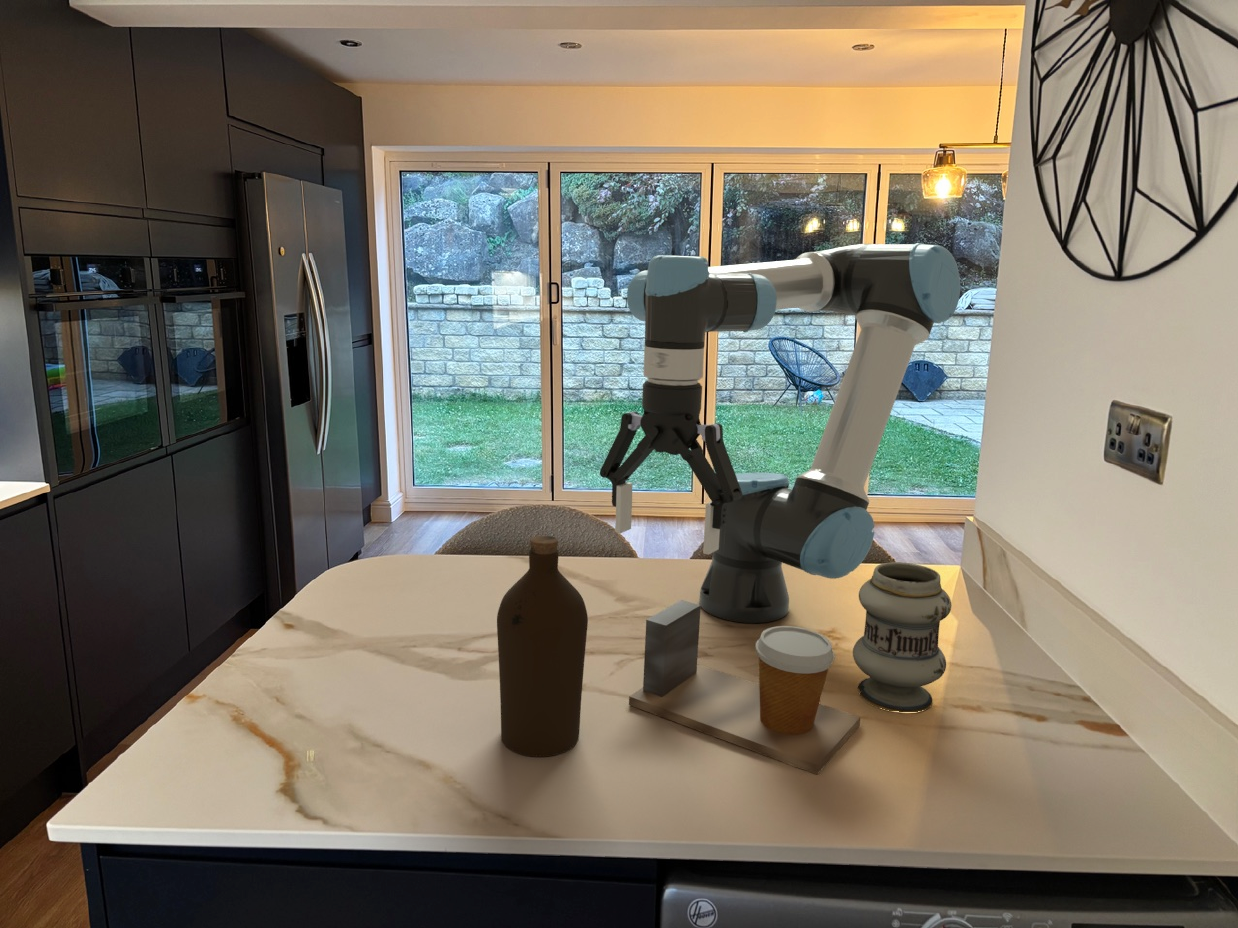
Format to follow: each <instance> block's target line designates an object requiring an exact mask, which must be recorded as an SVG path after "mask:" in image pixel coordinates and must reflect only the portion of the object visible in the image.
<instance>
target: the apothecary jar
mask: <svg viewBox="0 0 1238 928" xmlns="http://www.w3.org/2000/svg"><path fill="white" fill-rule="evenodd" d="M858 600H859V603H860V605H861V606H862V607H863V608H864V609H865V622H864V632H863V635H862V636H861V637H860V638H858V640H856V642H855V644H854V645H853V648H852V658H853V660H854V662H855V664H856V666H857V667H858V668H859V669H860V671H862V673H864V674H865V675H866V676H867V678H864V679H862V680H861V681H860V682H859V683H858V684H857V690H858V691H859V694H858V695H859V697H860V698H861V700H863V701H865V702H866V703H867V704H869V705H871V706H873V707H875V708H877V709H880V708H882V709H885V710H889V711H899V712H918V711H922V710H925V709H927V710H929V709H930V708H931V707H932V705H933V698H932V695H931V693H929V691H927V689H925V688H924V686H927V685H930V684H932V683H934V682H936V681H937V680H939V679H940V678H941V677H942V676H943V675H944V673H945V672H946V669H947V660H946V657H945V654H944V652H943V651H942V649H941V648H940V647H939V635H940V625H941V621H943V620H945V619H946V618H947V617H948V616H949V615H950V613H951V610H952V600H951V597H950V596H949V594H948V593H947V592H946V591H945V590H944V589H943V588H942V585H941V575H940V574H939V572H937V571H936V570H935V569H933V568H930V567H927V566H924V565H921V564H915V563H910V562H902V561H901V562H896V561H894V562H893V561H892V562H884V563H880V564H878V565H877V566H875V568H874V570H873V574H872V576H871V578H869V579H868V580H867V581H865V582H864V583H863V584H862V585H861V587H860V588H859V591H858ZM930 706H931V707H930ZM929 707H930V708H929ZM928 708H929V709H928ZM882 709H881V710H882ZM885 710H884V711H885ZM889 711H888V712H889ZM925 711H926V710H925Z"/></svg>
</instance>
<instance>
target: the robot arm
mask: <svg viewBox="0 0 1238 928" xmlns="http://www.w3.org/2000/svg"><path fill="white" fill-rule="evenodd" d="M626 291H627V292H626V302H627V307H628V309H629V311H630V313H631V315H633V317H634V318H636V319H637V320H639V321H640V322H641V321H642V322H644V324H645V325H644V349H643V350H644V354H643V376H644V377H645V378H647V380H645V381H644V383H643V384H642V395H641V396H642V403H641V405H642V406H641V407H642V410H643V414H642V415H641V414H640V413H639V412H638V411H635V410H634V411H630V412H629V411H628V412H625V413H622V415H621V419H620V427H619V430H618V433H617V435H616V437H615V438H614V441H613V443H612V445H611V447H610V450H609V451H608V453H607V455H606V457H605V460H604V462H603V464H602V466H601V467H600V468H601V469H600V470H599V475H600V477H601V478H605V479H607V480H609V481H610V483H611V485H612V486H611V489H612V490H611V504H612V506H613V507H615V526H614V527H615V529H614V530H615V531H614V532H615V533H617V534H622V533H624V532H627V531H629V530H632V516H633V515H632V510H633V509H632V508H633V485H634V484H633V482H628V481H630V477H632V475H633V474H634V473H635V471H636V470H638V468H639V467H640V466H641V465H642V463H644V461H645V460H646V459H647V458H648V457H649V456H650V454H652V452H654V451H655V452H656V453H667V454H669V455H672V456H677V455H678V456H679V455H680V457H681V459H683V460H684V461H685V462H686V463H687V464H688V466H689V467H690V468H691V470H692V472H693V474H694V475H695V477H696V478H697V480H698V482H699V484H700V485H701V487H702V488H703V490H704V492H705V493H706V495H707V496H708V498H709V499H710V502H707V503H706V504H705V509H704V510H705V513H704V529H703V530H704V531H703V532H704V533H703V549H702V553H703V554H705V555H710V554H712V558H711V562H710V565H709V567H708V570H707V573H706V575H705V577H704V580H703V582H702V584H701V587H700V590H699V602H698V603H699V604H698V605H701V610H703V611H705V612H706V613H708V614H710V615H712V616H714V617H716V618H719V619H723V620H727V621H730V622H731V621H732V622H738V623H746V624H747V623H749V624H750V623H751V624H759V623H769V622H775V621H778V620H780V619H782V618H784V617H786V616H787V614H788V613H789V607H790V597H789V596H790V595H789V591H788V587H787V583H786V580H785V575H784V571H783V567H782V564H784V565H787V566H790V567H793V568H796V569H798V570H801V571H803V572H804V573H807V574H808V575H809V574H810V575H812V576H819V577H821V578H826V579H832V580H835V579H840V578H844V577H846V576H848V575H849V574H850V573H851V572H854V571H855V570H856V569H857V568H858V567H859V566H860V565H861V564H862V562H864V560H865V558H866V557H867V556H868V553H869V551H870V550H871V547H872V544H873V540H874V537H875V531H874V528H875V521H874V518H873V517H872V514H871V513H869V512H868V510H867V509H868V507H869V504H870V499H869V497H868V495H867V493H866V491H865V485H866V482H867V480H868V477H869V473H870V471H871V470H872V469H871V468H872V466H873V463H874V460H875V457H876V455H877V451H878V449H879V447H880V443H881V440H882V438H883V435H884V432H885V430H886V427H887V424H888V421H889V418H890V416H891V413H892V411H893V407H894V405H895V402H896V399H897V396H898V394H899V391H900V388H901V385H902V382H903V380H904V377H905V374H906V371H907V369H908V366H909V364H910V360H911V357H912V356H913V352H914V349H915V347H916V345H919V344H920V343H923V342H925V341H927V340H928V339H929V337H930V334H931V331H932V329H933V326H934V324H942V323H945V322H947V321H948V320H949V319H950V318H951V317H952V316H953V315H954V314H955V312H956V310H957V307H958V306H959V305H958V304H959V300H960V296H961V277H960V273H959V267H958V264H957V261H956V259H955V257H954V256H953V254H952V253H951V251H949V250H948V249H947V248H946V247H944V246H942V245H938V244H925V243H921V242H917V243H908V244H907V243H905V244H903V243H902V244H899V243H894V244H893V243H891V244H889V243H887V244H886V243H882V244H881V243H880V244H879V243H856V244H849V245H845V246H840V247H835V248H830V249H823V250H817V251H809V252H804V253H801V254H800V255H798V256H797V257H796V258H795V259H789V260H778V261H777V260H776V261H766V262H752V263H742V264H728V265H718V266H717V265H715V266H709V261H708V259H707V258H706V257H704V256H692V255H691V256H689V255H685V256H684V255H661V254H660V255H654V256H653V257H652V258H651V259H650V260H649V262H648V267H647V270H646V269H645V270H642V271H640V272H638V273H637V274H635V276H633V278H632V279H631V281H630V282H629V284H628V287H627V290H626ZM796 308H798V309H799V310H801V311H804V312H808V313H811V312H812V313H813V312H831V313H832V312H833V313H838V314H839V313H840V314H847V315H852V316H853V315H854V316H855V319H856V322H857V324H858V326H859V327H860V332H859V334H858V338H857V339H856V343H855V345H854V348H853V351H852V353H851V356H850V360H849V361H848V365H847V367H846V371H845V373H844V375H843V378H842V381H841V384H840V386H839V389H838V392H837V395H836V398H835V401H834V403H833V406H832V408H831V411H830V414H829V416H828V418H827V419H828V420H827V422H826V426H825V428H824V430H823V433H822V435H821V439H820V441H819V444H818V447H817V450H816V453H815V455H814V458H813V461H812V464H811V466H810V468H809V470H807V471H805V472H803V473H801V474H799V475H797V476H796V478H795V480H794V481H795V482H794V484H793V486H792V489H791V488H789V486H790V482H789V478H788V476H786V474H783V473H778V472H777V473H774V472H743V473H736V472H735V469H734V467H733V465H732V462H731V459H730V456H729V453H728V450H727V448H726V445H725V442H724V435H723V434H724V432H723V431H724V430H723V428H724V427H723V425H722V423H719V422H717V423H712V424H702V423H701V419H700V414H701V411H702V396H703V386H702V384H701V383H700V382H698V381H700V380H701V379H703V378H704V359H705V357H704V355H705V345H706V344H705V340H706V333H711V332H712V333H713V332H716V333H717V332H718V333H719V332H743V333H748V332H751V331H757V330H758V331H759V330H761V329H763V328H765V327H766V326H768V325H769V324H770V322H771V321H772V320H773V319H774V317H775V314H776V311H780V310H786V309H796ZM640 428H641V429H642V431H643V433H644V436H643V437H642V438H641V440H640V441H639V442H638V443H637V445H636V448H634V450H633V451H632V452H631V453H630V454H629V456H627V458H626V459H625V457H626V454H627V452H628V451H629V449H630V446H631V444H632V443H633V440H634V438H635V437H636V435H637V431H638V430H639V429H640ZM700 435H701V440H702V441H703V442H704V444H705V447H706V451H707V454H708V457H709V459H710V462H711V464H710V462H709V461H708V459H707V458H706V456H705V455H704V450H703V447H702V446H701V444H700V442H699V441H698V440H697V439H698V438H699V436H700ZM624 459H625V460H624ZM623 461H624V462H623ZM622 462H623V463H622ZM711 465H712V466H711Z"/></svg>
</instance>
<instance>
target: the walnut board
mask: <svg viewBox="0 0 1238 928" xmlns="http://www.w3.org/2000/svg"><path fill="white" fill-rule="evenodd" d="M701 610H702V607H701V605H700V604H698V603H695V602H691V601H687V600H685V599H684V600H683V599H680V600H678V601H677V602H675V603H673V604H672V605H669V606H668V607H667V608H665V609H662V610H661V611H660V612H657V613H656V614H654V615H652V616H650V617H649V618H647V619H645V637H644V639H645V642H644V660H643V661H644V663H643V680H642V681H643V683H642V684H643V685H642V687H641V688H639V689H638V690H636V691H635V692H634V693H632V694H630V695H629V696H628V697H629V698H628V705H629V706H632V707H634V708H636V709H640V710H642V711H645V712H648V713H650V714H652V715H656V716H658V717H661V718H663V719H667V720H669V721H672V722H675V723H676V724H679V725H682V726H684V727H688V728H691V729H693V730H696V731H699V732H700V733H704V734H706V735H709V736H712V737H715V738H716V739H717V738H718V739H720V740H723V741H726V742H729V743H730V744H734V745H736V746H738V747H739V746H740V747H741V748H744V749H747V750H750V751H753V752H754V753H758V754H761V755H764V756H767V757H768V758H771V759H773V760H776V761H779V762H783V763H785V764H788V765H790V766H793V767H796V768H799V769H800V770H804V771H806V772H809V773H812V774H815V775H818V774H819V773H820V772H821V771H822V770H823V769H824V767H825V766H826V765H827V764H828V763H829V762H830V761H831V759H832V758H833V757H834V756H835V755H836V753H837V752H838V751H839V750H840V749H841V747H842V746H844V744H845V743H846V742H847V741H848V740H849V738H850V737H851V736H852V735H853V734H854V733H855V731H857V729H858V728H859V727H860V726H861V717H862V716H859V715H856V714H854V713H850V712H846V711H844V710H842V709H841V710H840V709H837V708H835V707H833V706H832V707H831V706H829V705H825V704H822V703H819V706H818V709H817V713H816V717H815V721H814V724H813V727H812V729H811V730H810V731H809V732H806V733H803V734H798V735H788V734H782V733H778V732H775V731H772V730H770V729H768V728H767V727H766V726H764V725H763V724H762V722H761V720H760V693H759V692H760V690H759V683H757V682H754V681H751V680H747V679H746V678H742V677H739V676H736V675H732V674H729V673H726V672H724V671H720V670H717V669H713V668H711V667H708V666H705V665H702V664H698V653H699V639H700V638H699V637H700V624H701V622H700V621H701Z"/></svg>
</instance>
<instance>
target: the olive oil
mask: <svg viewBox="0 0 1238 928" xmlns="http://www.w3.org/2000/svg"><path fill="white" fill-rule="evenodd" d="M529 544H530V549H529V550H528V564H529V566H528V570H527V572H525V573H524V574H523V575H522V577H520V578H519V579H518V580H517V581H516V582H515V583H514V584H513V585H512V586H511V587H510V588H509V589H508V590H507V591H506V592H505V594H504V595H503V597H502V599H501V602H500V604H499V607H498V611H497V616H496V630H497V631H496V632H497V652H498V653H497V654H498V670H499V671H498V673H499V675H498V676H499V695H500V696H499V697H500V699H499V700H500V735H501V742H502V743H503V744H504V746H506V747H507V748H508V750H511V751H512V752H514V753H517V754H519V755H523V756H528V757H537V758H538V757H541V758H542V757H551V756H556V755H559V754H563V753H565V752H568V750H570V749H571V748H573V747H574V746H575V745H576V744H577V742H578V741H579V738H580V726H581V709H582V694H583V693H582V692H583V683H584V681H583V680H584V672H585V671H584V669H585V658H586V649H587V648H586V647H587V645H586V644H587V634H588V627H589V626H588V625H589V624H588V623H589V622H588V621H589V620H588V618H589V617H588V611H587V610H588V609H587V607H586V603H585V600H584V597H582V594H581V593H580V592H579V590H578V589H576V588H575V586H574V585H573V584H572V583H571V582H570V581H569V580H568V579H567V578H566V577H565V576H564V575H563V574H562V573H561V572H560V570H559V554H560V553H559V549H558V545H559V540H558V538H556V537H554V536H551V535H537V536H533V537H532V538H530V542H529Z"/></svg>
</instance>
